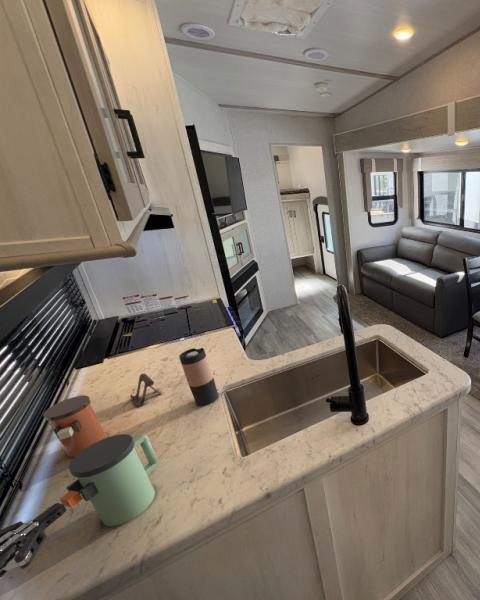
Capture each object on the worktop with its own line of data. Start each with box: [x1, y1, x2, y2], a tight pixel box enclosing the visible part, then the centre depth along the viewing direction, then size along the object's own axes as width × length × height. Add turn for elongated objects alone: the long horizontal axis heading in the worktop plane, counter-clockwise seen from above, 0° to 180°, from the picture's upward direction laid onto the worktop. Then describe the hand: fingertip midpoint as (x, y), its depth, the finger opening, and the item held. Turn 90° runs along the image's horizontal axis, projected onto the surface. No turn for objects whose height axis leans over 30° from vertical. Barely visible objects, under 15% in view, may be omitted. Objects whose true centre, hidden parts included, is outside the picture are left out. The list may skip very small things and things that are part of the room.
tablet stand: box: [129, 373, 162, 408], centre depth 115 cm, size 9×8×8 cm
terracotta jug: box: [42, 395, 108, 458], centre depth 93 cm, size 14×10×15 cm
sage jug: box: [65, 433, 159, 527], centre depth 73 cm, size 16×11×17 cm
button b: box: [56, 427, 74, 440], centre depth 86 cm, size 2×2×2 cm
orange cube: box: [59, 490, 84, 509], centre depth 64 cm, size 2×2×2 cm
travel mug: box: [178, 347, 219, 407], centre depth 110 cm, size 8×8×20 cm
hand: (62, 506), depth 63 cm, fingers closed
